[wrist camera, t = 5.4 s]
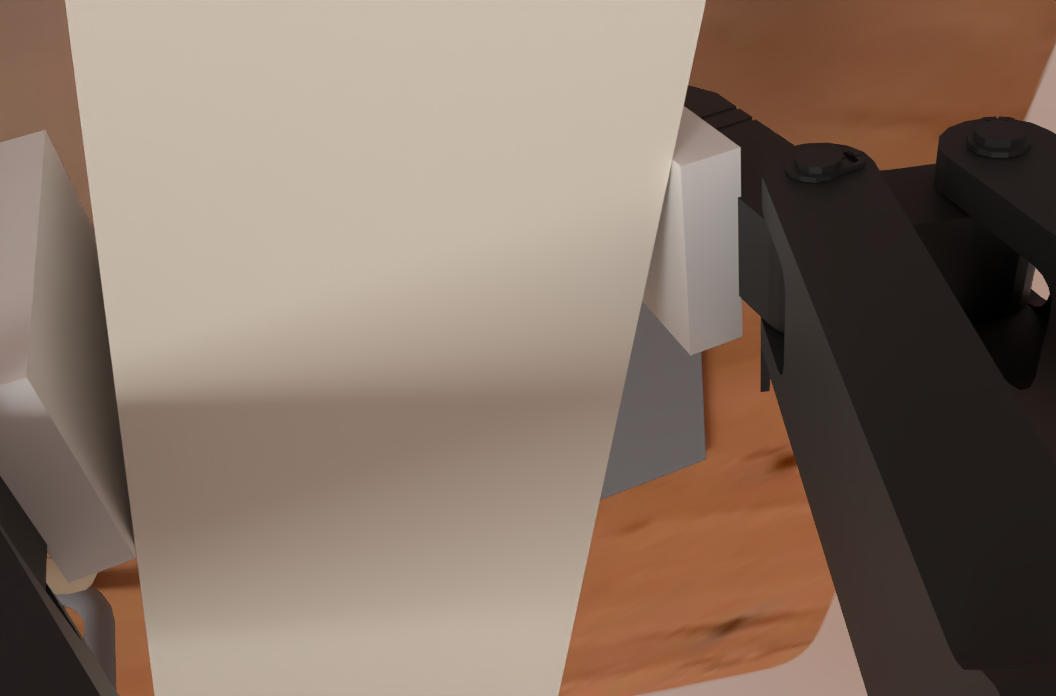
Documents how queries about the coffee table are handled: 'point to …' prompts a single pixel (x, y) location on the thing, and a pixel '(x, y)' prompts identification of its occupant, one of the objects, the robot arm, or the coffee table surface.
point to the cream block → (372, 321)
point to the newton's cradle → (96, 626)
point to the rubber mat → (656, 410)
